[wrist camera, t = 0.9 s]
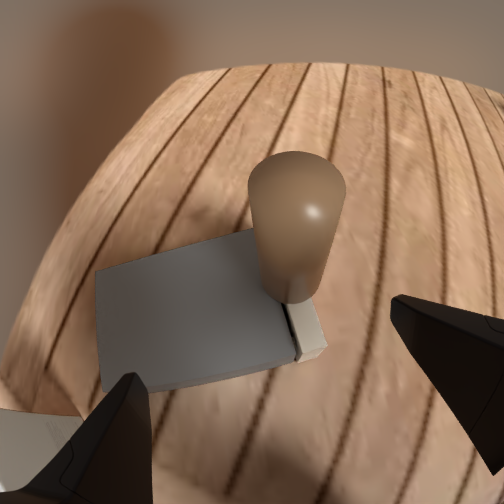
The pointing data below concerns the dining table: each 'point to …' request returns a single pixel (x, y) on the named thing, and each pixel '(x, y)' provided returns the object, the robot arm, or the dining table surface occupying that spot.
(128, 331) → the grey drawer housing
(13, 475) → the small box
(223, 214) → the dining table surface
